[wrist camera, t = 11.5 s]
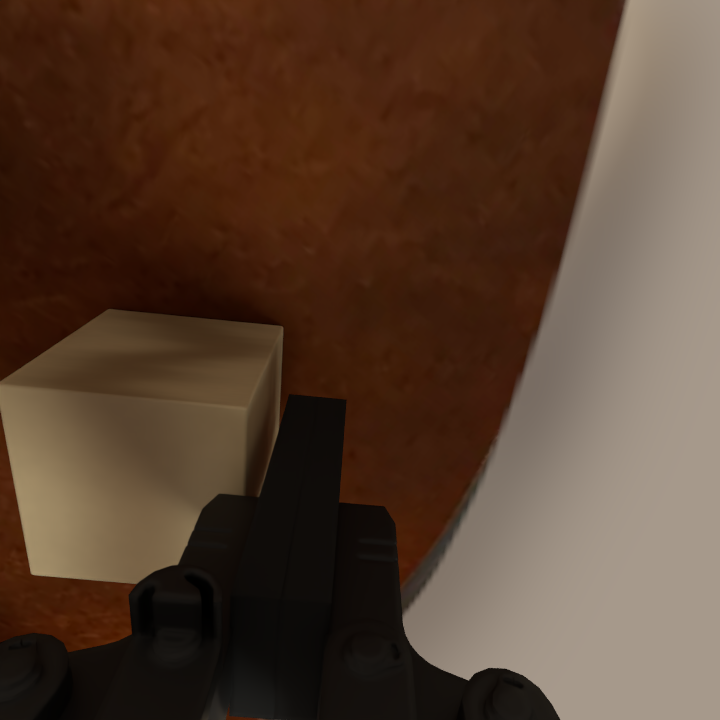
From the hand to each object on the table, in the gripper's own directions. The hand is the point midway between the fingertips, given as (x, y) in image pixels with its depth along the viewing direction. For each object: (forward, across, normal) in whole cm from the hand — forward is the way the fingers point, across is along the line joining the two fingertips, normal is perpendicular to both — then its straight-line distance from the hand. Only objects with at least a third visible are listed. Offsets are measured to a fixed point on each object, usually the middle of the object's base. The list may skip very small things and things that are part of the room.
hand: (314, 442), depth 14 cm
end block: (+2, -4, 0) cm, 4 cm away
